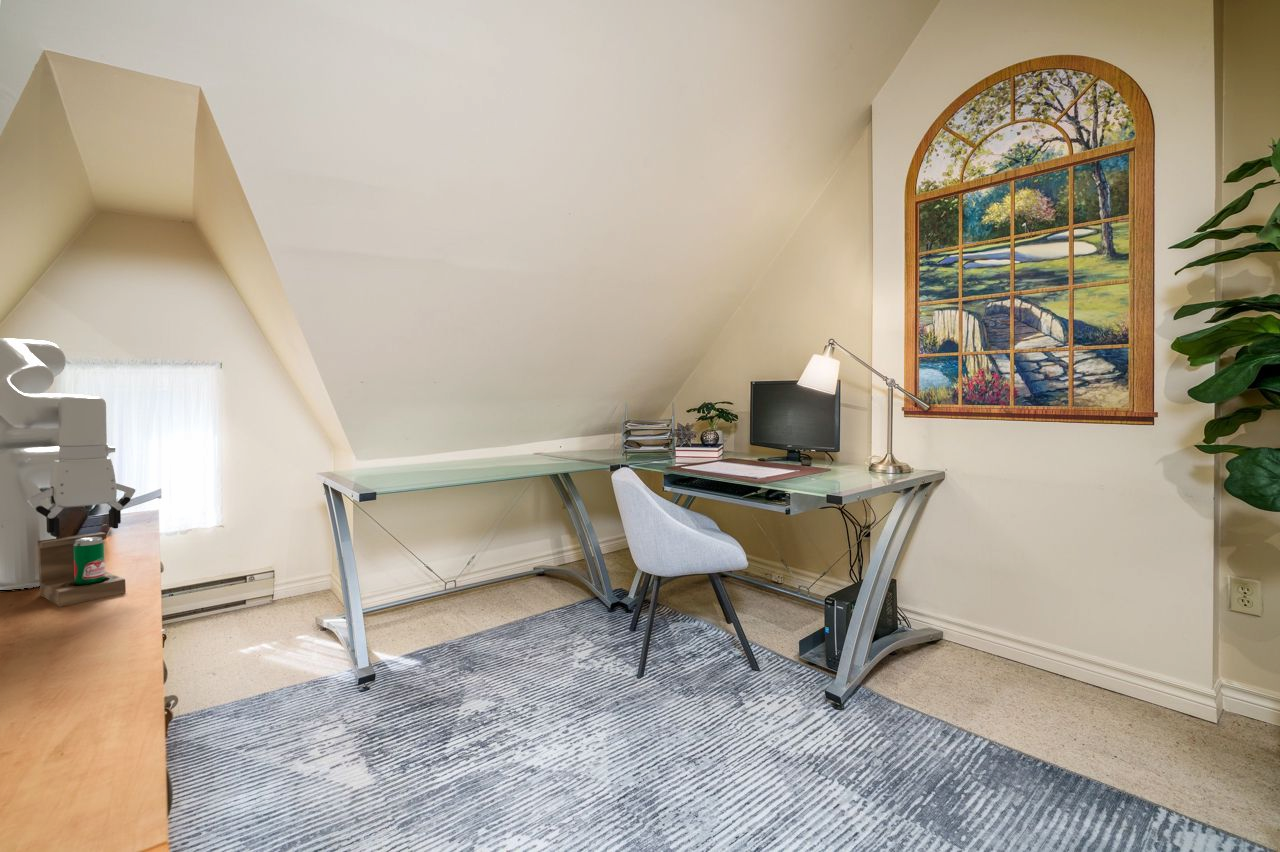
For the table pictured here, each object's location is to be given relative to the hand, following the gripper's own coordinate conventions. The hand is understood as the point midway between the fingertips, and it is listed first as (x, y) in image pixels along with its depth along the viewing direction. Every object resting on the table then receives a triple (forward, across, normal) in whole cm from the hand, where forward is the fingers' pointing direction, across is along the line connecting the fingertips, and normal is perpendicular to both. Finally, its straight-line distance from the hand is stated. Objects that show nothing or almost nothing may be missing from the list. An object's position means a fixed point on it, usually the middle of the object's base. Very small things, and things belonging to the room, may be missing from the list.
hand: (85, 531), depth 128 cm
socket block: (+14, 0, -1) cm, 14 cm away
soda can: (+14, 0, +1) cm, 14 cm away
